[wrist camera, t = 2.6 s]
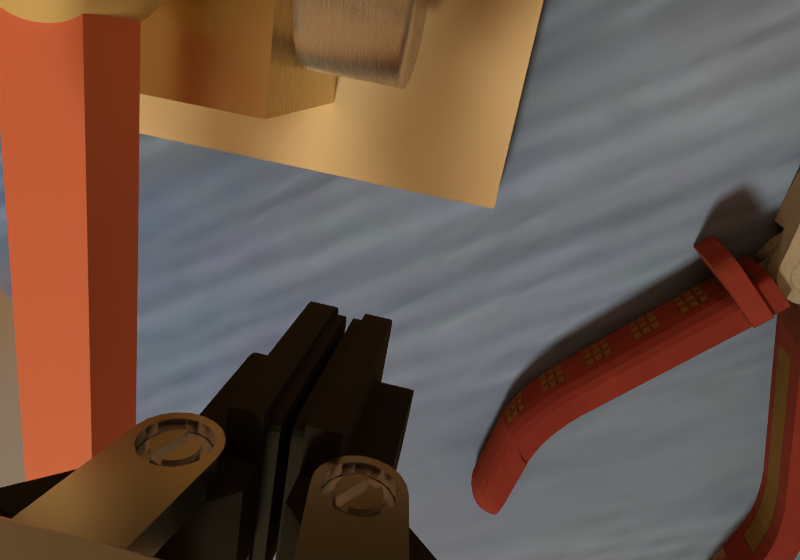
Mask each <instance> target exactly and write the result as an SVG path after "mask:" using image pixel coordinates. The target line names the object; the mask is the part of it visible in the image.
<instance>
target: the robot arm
mask: <svg viewBox="0 0 800 560" xmlns="http://www.w3.org/2000/svg"><path fill="white" fill-rule="evenodd" d="M391 326H392V320H390V319H386V318H382V317H377V316H373V315H369V314H365V315H364V317H363V319H362V320H359V319H354V318H353V320H352V322H351V323H350V325H349V327H348V329H347V330H346V332H345V327H346V317H345V316H341V315H338V308H337V307H334V306H329V305H325V304H320V303H316V302H312V301H311V302H310V303H309V304H308V305H307V306H306V308H305V309H304V310H303V311H302V313H301V314H300V315H299V316H298V318H297V319H296V320H295V322H294V323H293V324H292V325H291V327H290V328H289V329H288V330H287V332H286V333H285V334H284V335H283V337H282V338H281V339H280V341H279V342H278V343H277V344H276V346H275V347H274V348H273V349H272V351H271V352H270V353H269V355H264V354H260V353H252V354H251V355H250V356H249V357H248V358H247V359H246V361H245V362H244V363H243V364H242V365H241V366H240V368H239V369H238V370H237V371H236V372H235V374H234V375H233V376H232V377H231V378H230V379H229V381H228V382H227V383H226V384H225V385H224V386H223V388H222V389H221V390H220V391H219V392H218V394H217V395H216V396H215V397H214V398H213V399H212V401H211V402H210V403H209V404H208V405H207V407H206V408H205V409H204V410H203V411H202V412H201V414H200V415H196V414H192V413H168V414H161V415H158V416H155V417H151V418H148V419H146V420H144V421H142V422H141V423H139V424H137V425H135V426H134V427H133V428H131V429H130V430H129V431H127V432H126V433H125V434H123V435H122V436H121V437H119V438H118V439H117V440H115V441H114V442H113V443H111V444H110V445H109V446H107V447H106V448H105V449H103V450H102V451H101V452H99V453H98V454H97V455H95V456H94V457H93V458H91V459H90V460H89V461H87V462H86V463H85V464H83V465H82V466H81V467H79V468H78V469H75V470H71V471H67V472H62V473H58V474H54V475H50V476H46V477H42V478H38V479H34V480H30V481H26V482H22V483H18V484H14V485H10V486H6V487H1V488H0V560H273V557H274V555H275V553H276V560H437V559H436V558H435V557H434V556H433V555H432V554H431V552H430V551H429V550H428V549H427V548H426V547H425V545H424V544H423V543H422V542H421V541H420V540H419V538H418V537H417V536H416V535H415V534H414V532H413V531H412V530H411V529H410V528H409V494H408V489H407V485H406V483H405V481H404V480H403V478H402V477H401V475H400V474H399V473H398V472H397V471H396V469H397V465H398V461H399V457H400V453H401V448H402V444H403V439H404V435H405V431H406V426H407V421H408V417H409V412H410V407H411V402H412V398H413V392H414V390H411V389H407V388H403V387H398V386H394V385H390V384H386V383H382V382H381V380H382V374H383V369H384V364H385V358H386V353H387V348H388V343H389V337H390V332H391ZM344 333H345V334H344ZM276 551H277V552H276Z"/></svg>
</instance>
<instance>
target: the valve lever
mask: <svg viewBox="0 0 800 560" xmlns="http://www.w3.org/2000/svg"><path fill="white" fill-rule="evenodd" d="M163 1H164V0H0V130H1V144H2V158H3V172H4V186H5V199H6V213H7V227H8V241H9V255H10V269H11V283H12V297H13V311H14V324H15V338H16V352H17V366H18V380H19V393H20V408H21V421H22V435H23V449H24V463H25V477H26V481H30V480H34V479H38V478H42V477H46V476H50V475H54V474H58V473H62V472H67V471H71V470H75V469H78V468H79V467H81V466H82V465H83V464H85V463H86V462H87V461H89V460H90V459H91V458H93V457H94V456H95V455H97V454H98V453H99V452H101V451H102V450H103V449H105V448H106V447H107V446H109V445H110V444H111V443H113V442H114V441H115V440H117V439H118V438H119V437H121V436H122V435H123V434H125V433H126V432H127V431H129V430H130V429H131V428H133V427H134V426H135V425H136V360H137V279H138V198H139V117H140V36H141V21H143V20H145V19H147V18H148V17H149V16H150V15H152V14H153V13H154V12H155V11H156V10H157V9H158V7H159V6H160V5H161V4H162V2H163Z"/></svg>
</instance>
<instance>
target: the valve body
mask: <svg viewBox="0 0 800 560" xmlns="http://www.w3.org/2000/svg"><path fill="white" fill-rule="evenodd" d="M428 1H429V0H164V1H163V2H162V4H161V5H160V6H159V7H158V9H157V10H156V11H155V12H154V13H153V14H152V15H150V16H149V17H148V18H147V19H145V20H143V21H141V36H140V94H144V95H149V96H154V97H158V98H163V99H168V100H173V101H178V102H183V103H188V104H192V105H197V106H202V107H207V108H212V109H217V110H221V111H226V112H231V113H236V114H241V115H246V116H251V117H255V118H260V119H269V118H273V117H277V116H281V115H285V114H290V113H294V112H298V111H302V110H306V109H310V108H314V107H318V106H323V105H327V104H331V103H334V99H335V91H336V83H337V76H340V77H346V78H351V79H356V80H361V81H366V82H371V83H376V84H381V85H386V86H391V87H397V88H402V89H404V88H405V87H406V86H407V84H408V82H409V80H410V78H411V75H412V73H413V70H414V67H415V63H416V60H417V56H418V53H419V48H420V44H421V40H422V35H423V30H424V25H425V20H426V14H427V8H428Z"/></svg>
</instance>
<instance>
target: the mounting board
mask: <svg viewBox="0 0 800 560" xmlns="http://www.w3.org/2000/svg"><path fill="white" fill-rule="evenodd" d="M543 1H544V0H429V1H428V8H427V14H426V20H425V25H424V30H423V35H422V40H421V44H420V48H419V53H418V56H417V60H416V63H415V67H414V70H413V73H412V75H411V78H410V80H409V82H408V84H407V86H406V87H405V88H404V89H402V88H397V87H391V86H386V85H381V84H376V83H371V82H366V81H361V80H356V79H351V78H346V77H340V76H337V83H336V91H335V99H334V103H331V104H327V105H323V106H318V107H314V108H310V109H306V110H302V111H298V112H294V113H290V114H285V115H281V116H277V117H273V118H269V119H260V118H255V117H251V116H246V115H241V114H236V113H231V112H226V111H221V110H217V109H212V108H207V107H202V106H197V105H192V104H188V103H183V102H178V101H173V100H168V99H163V98H158V97H154V96H149V95H144V94H140V117H139V133H141V134H146V135H150V136H155V137H160V138H164V139H169V140H174V141H178V142H183V143H188V144H193V145H197V146H202V147H207V148H211V149H216V150H221V151H225V152H230V153H235V154H239V155H244V156H249V157H253V158H258V159H263V160H268V161H272V162H277V163H282V164H286V165H291V166H296V167H300V168H305V169H310V170H314V171H319V172H324V173H329V174H333V175H338V176H343V177H347V178H352V179H357V180H361V181H366V182H371V183H375V184H380V185H385V186H390V187H394V188H399V189H404V190H408V191H413V192H418V193H422V194H427V195H432V196H436V197H441V198H446V199H450V200H455V201H460V202H465V203H469V204H474V205H479V206H483V207H488V208H493V209H494V206H495V201H496V197H497V193H498V189H499V185H500V180H501V176H502V172H503V168H504V164H505V159H506V155H507V151H508V147H509V143H510V139H511V134H512V130H513V126H514V122H515V118H516V113H517V109H518V105H519V101H520V97H521V93H522V88H523V84H524V80H525V76H526V72H527V67H528V63H529V59H530V55H531V51H532V47H533V42H534V38H535V34H536V30H537V26H538V21H539V17H540V13H541V9H542V5H543Z"/></svg>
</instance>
